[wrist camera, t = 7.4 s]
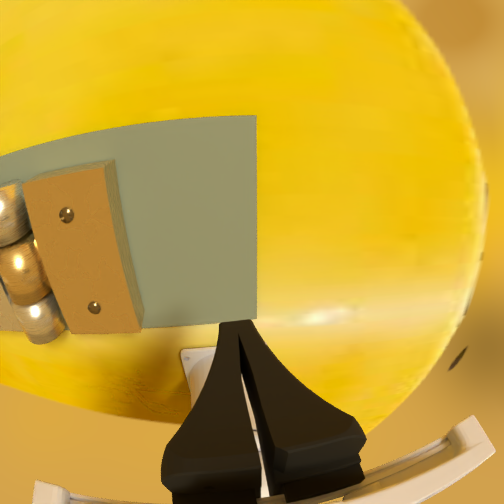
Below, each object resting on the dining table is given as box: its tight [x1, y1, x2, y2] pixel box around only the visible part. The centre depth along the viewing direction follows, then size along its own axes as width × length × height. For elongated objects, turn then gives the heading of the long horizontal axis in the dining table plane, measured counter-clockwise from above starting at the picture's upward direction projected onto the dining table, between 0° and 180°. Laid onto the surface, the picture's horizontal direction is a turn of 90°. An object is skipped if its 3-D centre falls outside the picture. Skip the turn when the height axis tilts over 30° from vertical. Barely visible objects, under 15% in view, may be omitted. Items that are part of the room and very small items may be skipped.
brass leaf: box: [0, 159, 145, 334], centre depth 17 cm, size 12×10×4 cm
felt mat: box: [0, 115, 257, 330], centre depth 19 cm, size 16×27×1 cm, turn 90°
